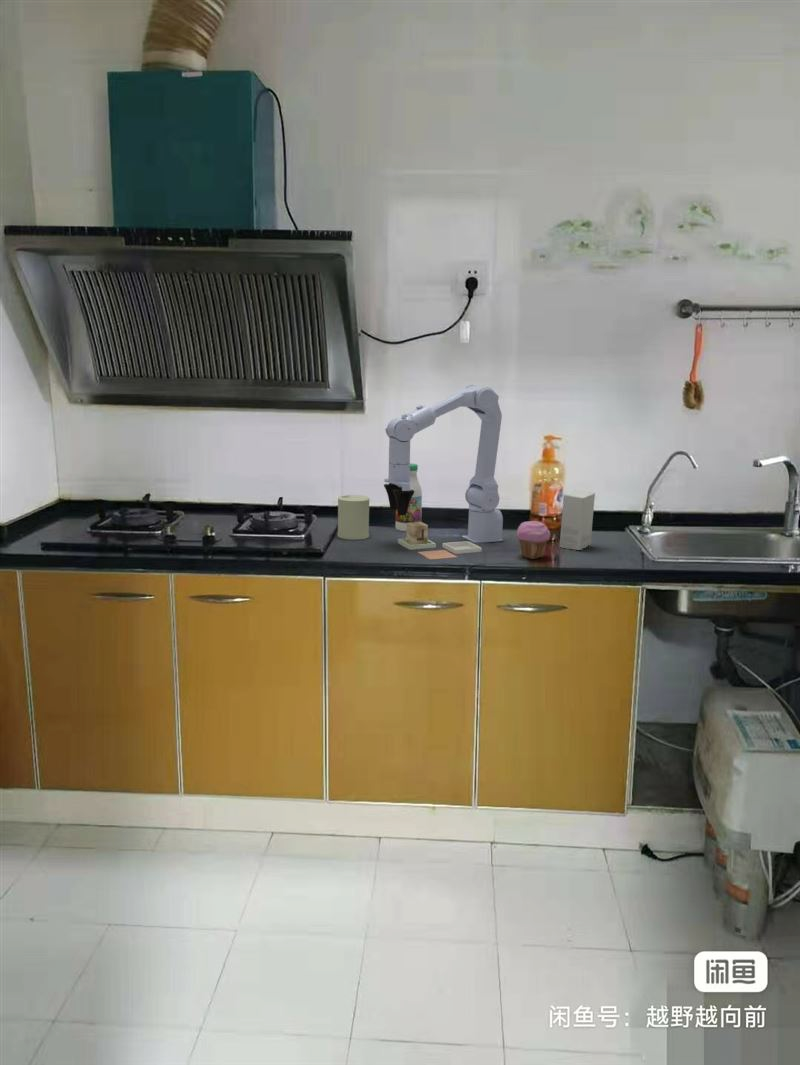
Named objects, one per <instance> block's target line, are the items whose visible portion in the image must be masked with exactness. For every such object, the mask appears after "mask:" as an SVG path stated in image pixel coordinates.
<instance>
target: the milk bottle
mask: <svg viewBox="0 0 800 1065" xmlns="http://www.w3.org/2000/svg"><path fill="white" fill-rule="evenodd" d="M418 467H419V466H418V464H417V463H411V462H410V478H409V479H410V490H414V494H413V496H412V498H411V500H410V502H409V506H408V510H407V514H406V515H400V516H399V515H398V512H397V510H395V530H397V531H401V532H407V523H414V522H422V510H423V509H422V506H423V504H422V503H423V502H422V501H423V497H422V496H423V494H422V491H423V490H422V487H421V484H420V482H419V479H418V475H417V473H418V469H419V468H418Z"/></svg>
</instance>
